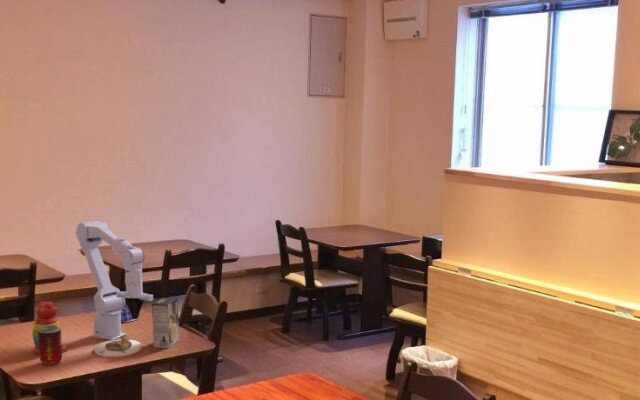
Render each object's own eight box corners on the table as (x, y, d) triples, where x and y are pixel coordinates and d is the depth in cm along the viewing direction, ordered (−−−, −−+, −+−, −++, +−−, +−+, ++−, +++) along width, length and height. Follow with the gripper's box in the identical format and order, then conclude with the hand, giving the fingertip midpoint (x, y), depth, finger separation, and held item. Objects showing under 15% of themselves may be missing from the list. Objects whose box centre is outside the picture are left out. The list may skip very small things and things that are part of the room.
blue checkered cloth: (125, 314, 317) (124, 301, 317) (145, 318, 311) (145, 306, 310) (102, 321, 308) (101, 308, 307) (122, 325, 301) (122, 312, 300)
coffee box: (163, 339, 282) (161, 297, 280) (179, 340, 281) (178, 297, 279) (152, 347, 273) (151, 303, 271) (169, 348, 272) (168, 304, 270)
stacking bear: (69, 351, 269) (67, 301, 267) (41, 357, 262) (39, 307, 260) (55, 344, 277) (53, 296, 275) (28, 350, 270) (25, 301, 268)
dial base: (84, 353, 266) (84, 350, 266) (113, 340, 281) (113, 337, 281) (122, 359, 260) (122, 355, 260) (150, 345, 275) (150, 342, 275)
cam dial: (102, 345, 271) (101, 331, 270) (126, 340, 276) (126, 327, 275) (113, 355, 260) (113, 340, 260) (139, 350, 265) (138, 336, 264)
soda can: (60, 358, 262) (58, 323, 260) (64, 364, 255) (62, 329, 254) (38, 361, 258) (36, 326, 257) (41, 368, 252) (39, 332, 250)
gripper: (110, 282, 273) (111, 319, 275) (144, 285, 268) (145, 323, 270) (122, 278, 280) (123, 314, 282) (156, 281, 274) (157, 318, 276)
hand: (135, 318), depth 276 cm, fingers closed
